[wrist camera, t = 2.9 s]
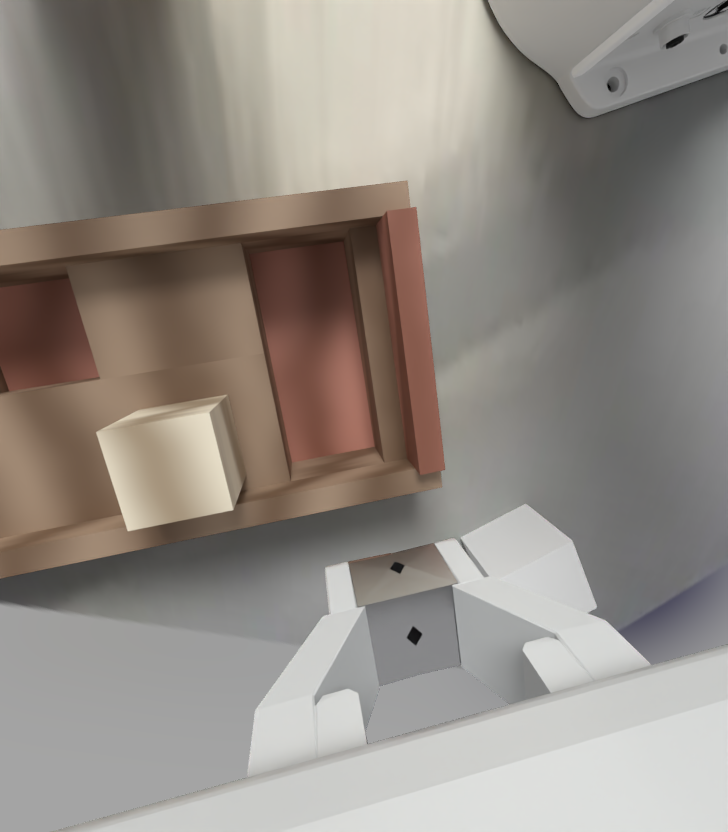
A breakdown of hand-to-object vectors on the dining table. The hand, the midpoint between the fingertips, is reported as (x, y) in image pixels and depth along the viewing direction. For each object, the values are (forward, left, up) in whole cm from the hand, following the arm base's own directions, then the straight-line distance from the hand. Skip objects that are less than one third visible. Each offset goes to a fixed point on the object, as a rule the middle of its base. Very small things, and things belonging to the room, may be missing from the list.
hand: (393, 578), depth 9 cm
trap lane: (+10, -4, -20) cm, 23 cm away
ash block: (+8, 0, -16) cm, 18 cm away
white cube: (-12, +14, -21) cm, 28 cm away
